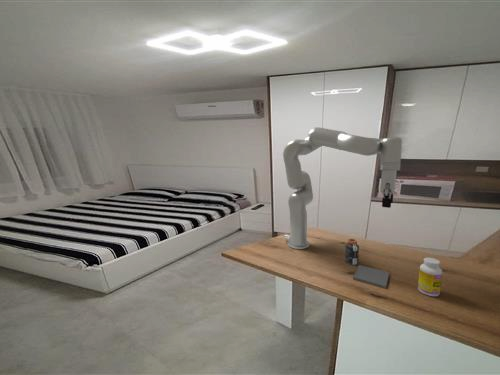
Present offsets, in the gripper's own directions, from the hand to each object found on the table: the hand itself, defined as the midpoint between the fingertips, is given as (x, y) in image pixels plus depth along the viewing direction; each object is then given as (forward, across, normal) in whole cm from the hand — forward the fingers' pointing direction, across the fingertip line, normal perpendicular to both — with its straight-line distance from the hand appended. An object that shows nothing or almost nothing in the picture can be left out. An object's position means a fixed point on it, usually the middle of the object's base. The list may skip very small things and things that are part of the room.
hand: (387, 204), depth 102 cm
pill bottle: (+30, +4, -13) cm, 33 cm away
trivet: (+29, +13, -3) cm, 32 cm away
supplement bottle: (+30, +13, +16) cm, 36 cm away
